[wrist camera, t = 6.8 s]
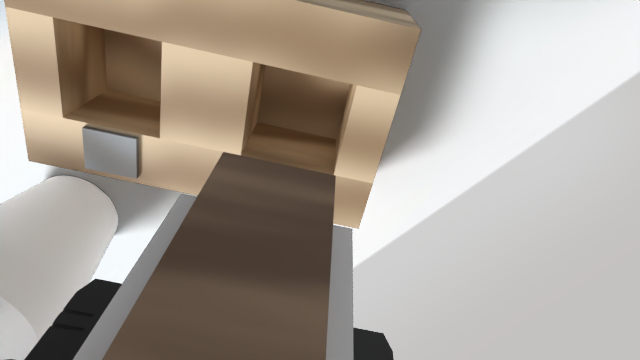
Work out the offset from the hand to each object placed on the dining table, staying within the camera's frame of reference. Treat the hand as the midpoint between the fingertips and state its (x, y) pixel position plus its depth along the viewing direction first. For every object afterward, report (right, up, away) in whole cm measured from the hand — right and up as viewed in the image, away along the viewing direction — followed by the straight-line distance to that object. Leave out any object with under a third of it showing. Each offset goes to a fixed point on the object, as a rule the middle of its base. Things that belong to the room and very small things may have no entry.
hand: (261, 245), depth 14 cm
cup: (-18, 0, +21) cm, 27 cm away
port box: (-4, +9, +14) cm, 17 cm away
